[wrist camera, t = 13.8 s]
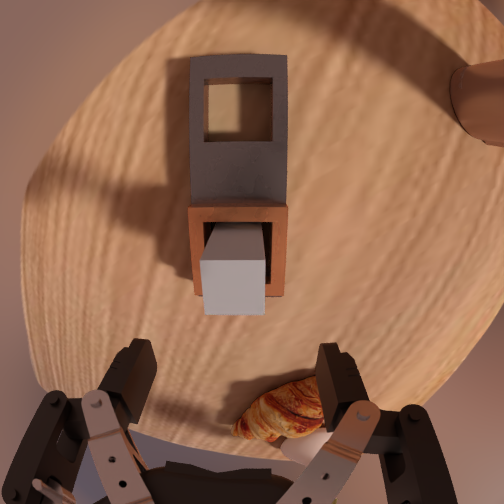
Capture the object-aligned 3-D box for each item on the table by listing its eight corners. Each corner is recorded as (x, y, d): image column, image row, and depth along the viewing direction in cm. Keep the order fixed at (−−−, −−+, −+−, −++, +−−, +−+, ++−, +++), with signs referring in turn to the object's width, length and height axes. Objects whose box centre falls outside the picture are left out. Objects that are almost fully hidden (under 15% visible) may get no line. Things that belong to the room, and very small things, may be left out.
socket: (279, 284, 29) (283, 305, 25) (202, 284, 29) (195, 304, 25) (283, 63, 20) (289, 49, 17) (196, 65, 20) (186, 52, 17)
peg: (260, 257, 27) (264, 314, 18) (220, 257, 27) (205, 314, 18) (260, 217, 26) (265, 259, 17) (218, 218, 26) (199, 260, 17)
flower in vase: (322, 450, 43) (338, 553, 20) (270, 448, 42) (275, 561, 19) (357, 417, 39) (390, 538, 15) (300, 414, 37) (317, 556, 14)
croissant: (245, 415, 43) (259, 454, 37) (205, 415, 36) (218, 461, 30) (350, 359, 37) (373, 403, 31) (325, 351, 30) (353, 409, 25)
